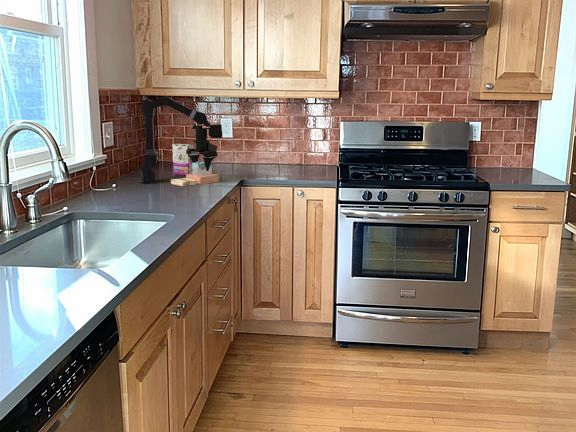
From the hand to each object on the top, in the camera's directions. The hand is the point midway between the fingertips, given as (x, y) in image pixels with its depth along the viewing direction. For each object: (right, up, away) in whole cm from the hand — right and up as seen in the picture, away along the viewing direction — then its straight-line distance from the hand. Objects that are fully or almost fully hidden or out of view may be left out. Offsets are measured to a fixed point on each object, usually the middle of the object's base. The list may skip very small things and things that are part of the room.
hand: (202, 169), depth 282 cm
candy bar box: (-13, -1, +23) cm, 26 cm away
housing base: (0, -2, 0) cm, 2 cm away
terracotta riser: (0, -6, +1) cm, 6 cm away
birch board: (-8, -7, -6) cm, 12 cm away
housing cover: (0, +1, -1) cm, 2 cm away
